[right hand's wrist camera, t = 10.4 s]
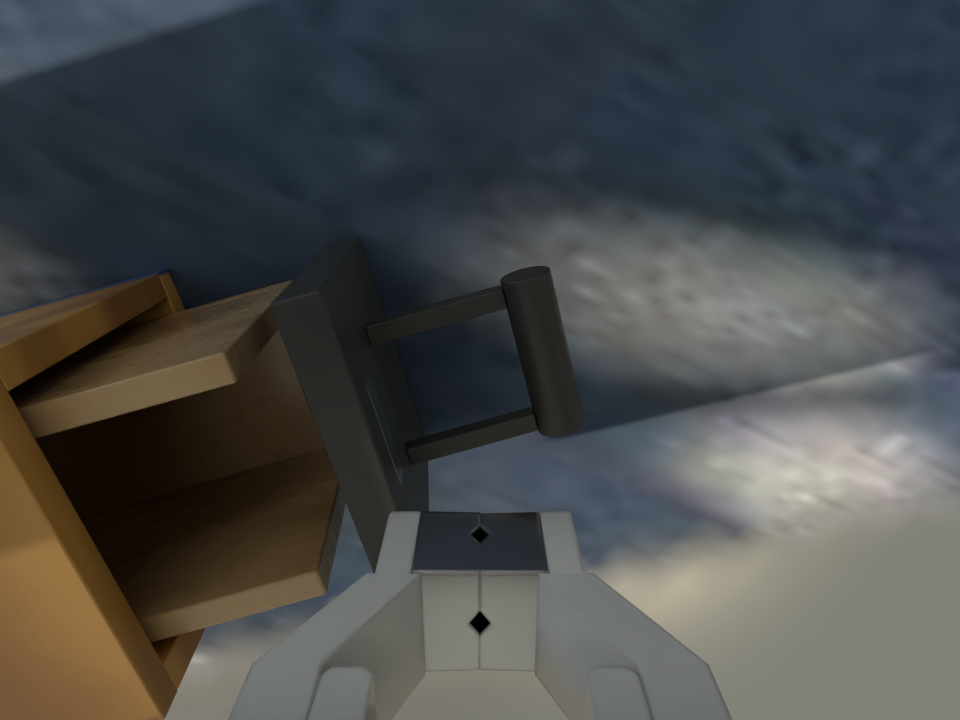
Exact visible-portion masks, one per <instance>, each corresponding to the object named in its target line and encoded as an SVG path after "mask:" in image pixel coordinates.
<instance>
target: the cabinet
mask: <svg viewBox="0 0 960 720" xmlns="http://www.w3.org/2000/svg"><path fill="white" fill-rule="evenodd" d="M182 310H185V308H184V306H183V303H182V301H181V299H180V296H179V294H178V292H177V290H176V287H175V285H174V283H173V280H172V278H171V276H170V274H169V269H168V268H167V269H163V270H160V271H156V272H152V273H149V274H145V275H142V276H138V277H134V278H131V279H127V280H124V281H120V282H116V283H113V284H109V285H106V286H102V287H99V288H95V289H91V290H88V291H84V292H81V293H77V294H73V295H70V296H66V297H63V298H59V299H56V300H52V301H48V302H45V303H41V304H38V305H34V306H30V307H27V308H23V309H20V310H16V311H12V312H9V313H5V314H2V315H0V720H163V719H164V718H165V717H166V715H167V712H168V710H169V708H170V706H171V704H172V701H173V699H174V697H175V695H176V693H177V688H178V687H179V685H180V683H181V681H182V679H183V676H184V674H185V672H186V670H187V667H188V665H189V663H190V661H191V659H192V656H193V654H194V652H195V650H196V648H197V645H198V643H199V641H200V639H201V637H202V634H203V632H204V630H205V628H206V627H205V628H202V629H198V630H194V631H191V632H187V633H184V634H180V635H176V636H173V637H169V638H166V639H162V640H158V641H155V642H151V643H150V641H149V639H148V637H147V635H146V634H145V632H144V630H143V628H142V627H141V625H140V623H139V621H138V620H137V618H136V616H135V614H134V613H133V611H132V609H131V607H130V606H129V604H128V602H127V600H126V599H125V597H124V595H123V593H122V591H121V590H120V588H119V586H118V584H117V583H116V581H115V579H114V577H113V576H112V574H111V572H110V570H109V569H108V567H107V565H106V563H105V562H104V560H103V558H102V556H101V555H100V553H99V551H98V549H97V547H96V546H95V544H94V542H93V540H92V539H91V537H90V535H89V533H88V532H87V530H86V528H85V526H84V525H83V523H82V521H81V519H80V518H79V516H78V514H77V512H76V510H75V509H74V507H73V505H72V503H71V502H70V500H69V498H68V496H67V495H66V493H65V491H64V489H63V488H62V486H61V484H60V482H59V481H58V479H57V477H56V475H55V474H54V472H53V470H52V468H51V466H50V465H49V463H48V461H47V459H46V458H45V456H44V454H43V452H42V451H41V449H40V447H39V445H38V444H37V442H36V440H35V438H34V437H33V435H32V433H31V431H30V430H29V428H28V426H27V424H26V422H25V421H24V419H23V417H22V415H21V414H20V412H19V410H18V408H17V407H16V405H15V403H14V401H13V400H12V398H11V396H10V394H9V393H8V391H10V390H12V389H14V388H15V387H17V386H19V385H20V384H22V383H24V382H25V381H27V380H29V379H31V378H32V377H34V376H36V375H37V374H39V373H41V372H42V371H44V370H46V369H48V368H49V367H51V366H53V365H54V364H56V363H58V362H59V361H61V360H63V359H65V358H66V357H68V356H70V355H71V354H73V353H75V352H77V351H78V350H80V349H82V348H83V347H85V346H87V345H88V344H90V343H92V342H94V341H95V340H97V339H99V338H100V337H102V336H104V335H105V334H107V333H109V332H111V331H112V330H114V329H117V328H121V327H125V326H128V325H132V324H135V323H139V322H143V321H146V320H150V319H153V318H157V317H161V316H164V315H168V314H171V313H175V312H178V311H182Z"/></svg>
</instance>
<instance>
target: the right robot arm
mask: <svg viewBox="0 0 960 720" xmlns="http://www.w3.org/2000/svg"><path fill="white" fill-rule="evenodd" d="M463 670H496V671H531V672H535V675H536V676H537V678H538V679H539V680H540V682H541V683H542V685H543V686H544V687H545V689H546V690H547V691H548V693H549V694H550V695H551V697H552V698H553V699H554V701H555V702H556V703H557V705H558V706H559V707H560V709H561V710H562V712H563V713H564V714H565V716H566V717H567V718H568V720H732V718H731V716H730V714H729V711H728V709H727V706H726V704H725V702H724V700H723V697H722V695H721V692H720V690H719V688H718V685H717V683H716V681H715V678H714V676H713V674H712V671H711V669H710V667H709V665H708V664H707V663H706V662H705V661H703V660H702V659H701V658H700V657H698V656H697V655H696V654H695V653H693V652H692V651H691V650H690V649H688V648H687V647H686V646H684V645H683V644H682V643H681V642H679V641H678V640H677V639H676V638H674V637H673V636H672V635H671V634H669V633H668V632H667V631H666V630H664V629H663V628H662V627H661V626H659V625H658V624H657V623H656V622H654V621H653V620H652V619H650V618H649V617H648V616H647V615H645V614H644V613H643V612H642V611H640V610H639V609H638V608H637V607H635V606H634V605H633V604H632V603H630V602H629V601H628V600H627V599H625V598H624V597H623V596H622V595H620V594H619V593H618V592H617V591H615V590H614V589H613V588H611V587H610V586H609V585H608V584H606V583H605V582H604V581H603V580H601V579H600V578H599V577H598V576H596V575H595V574H593V573H585V571H584V567H583V563H582V559H581V554H580V550H579V546H578V542H577V538H576V534H575V530H574V526H573V521H572V517H571V514H570V513H569V512H568V511H547V512H526V513H478V512H430V511H422V513H421V512H420V511H392V512H391V513H390V515H389V517H388V521H387V525H386V529H385V533H384V538H383V542H382V546H381V550H380V554H379V558H378V563H377V567H376V571H375V573H367V574H365V575H364V576H362V577H361V578H360V579H359V580H357V581H356V582H355V583H354V584H352V585H351V586H350V587H348V588H347V589H346V590H345V591H343V592H342V593H341V594H340V595H338V596H337V597H336V598H335V599H333V600H332V601H331V602H329V603H328V604H327V605H326V606H324V607H323V608H322V609H321V610H319V611H318V612H317V613H316V614H314V615H313V616H312V617H311V618H309V619H308V620H307V621H305V622H304V623H303V624H302V625H300V626H299V627H298V628H297V629H295V630H294V631H293V632H292V633H290V634H289V635H288V636H286V637H285V638H284V639H283V640H281V641H280V642H279V643H278V644H276V645H275V646H274V647H273V648H271V649H270V650H269V651H267V652H266V653H265V654H264V655H262V656H261V657H260V658H259V659H257V660H256V661H255V662H254V663H252V665H251V667H250V670H249V672H248V674H247V677H246V679H245V681H244V684H243V686H242V688H241V691H240V693H239V695H238V698H237V700H236V702H235V704H234V707H233V709H232V711H231V714H230V716H229V718H228V720H392V719H393V717H394V716H395V715H396V713H397V712H398V711H399V709H400V708H401V707H402V705H403V704H404V703H405V701H406V700H407V699H408V697H409V696H410V695H411V693H412V692H413V691H414V689H415V688H416V687H417V685H418V684H419V682H420V681H421V680H422V678H423V677H424V676H425V672H428V671H463Z"/></svg>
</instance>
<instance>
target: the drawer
mask: <svg viewBox="0 0 960 720" xmlns="http://www.w3.org/2000/svg"><path fill="white" fill-rule="evenodd" d="M500 283H501V286H496V287H492V288H488V289H485V290H481V291H478V292H474V293H470V294H467V295H463V296H460V297H456V298H453V299H449V300H445V301H442V302H438V303H435V304H431V305H427V306H424V307H420V308H417V309H413V310H409V311H406V312H402V313H399V314H395V315H392V316H388V317H386V316H385V313H384V310H383V306H382V303H381V300H380V297H379V294H378V291H377V288H376V285H375V282H374V279H373V276H372V273H371V270H370V267H369V264H368V260H367V257H366V254H365V251H364V248H363V245H362V242H361V239H360V237H359V236H355V237H351V238H348V239H344V240H341V241H337V242H333V243H330V244H328V245H327V246H326V247H325V248H324V249H323V250H322V251H321V252H320V253H319V254H318V255H317V256H316V257H315V258H314V259H313V260H312V261H311V262H310V263H309V264H308V266H307V267H306V268H305V269H304V270H303V271H302V272H301V273H300V274H299V275H298V276H297V277H296V278H295V279H294V280H290V281H286V282H283V283H279V284H275V285H272V286H268V287H265V288H261V289H257V290H254V291H250V292H247V293H243V294H239V295H236V296H232V297H229V298H225V299H222V300H218V301H214V302H211V303H207V304H204V305H200V306H196V307H193V308H189V309H186V310H182V311H178V312H175V313H171V314H168V315H164V316H161V317H157V318H153V319H150V320H146V321H143V322H139V323H135V324H132V325H128V326H125V327H121V328H117V329H114V330H112V331H111V332H109V333H107V334H105V335H104V336H102V337H100V338H99V339H97V340H95V341H94V342H92V343H90V344H88V345H87V346H85V347H83V348H82V349H80V350H78V351H77V352H75V353H73V354H71V355H70V356H68V357H66V358H65V359H63V360H61V361H59V362H58V363H56V364H54V365H53V366H51V367H49V368H48V369H46V370H44V371H42V372H41V373H39V374H37V375H36V376H34V377H32V378H31V379H29V380H27V381H25V382H24V383H22V384H20V385H19V386H17V387H15V388H14V389H12V390H10V391H8V393H9V394H10V396H11V398H12V400H13V401H14V403H15V405H16V407H17V408H18V410H19V412H20V414H21V415H22V417H23V419H24V421H25V422H26V424H27V426H28V428H29V430H30V431H31V433H32V435H33V437H34V438H35V440H36V442H37V444H38V445H39V447H40V449H41V451H42V452H43V454H44V456H45V458H46V459H47V461H48V463H49V465H50V466H51V468H52V470H53V472H54V474H55V475H56V477H57V479H58V481H59V482H60V484H61V486H62V488H63V489H64V491H65V493H66V495H67V496H68V498H69V500H70V502H71V503H72V505H73V507H74V509H75V510H76V512H77V514H78V516H79V518H80V519H81V521H82V523H83V525H84V526H85V528H86V530H87V532H88V533H89V535H90V537H91V539H92V540H93V542H94V544H95V546H96V547H97V549H98V551H99V553H100V555H101V556H102V558H103V560H104V562H105V563H106V565H107V567H108V569H109V570H110V572H111V574H112V576H113V577H114V579H115V581H116V583H117V584H118V586H119V588H120V590H121V591H122V593H123V595H124V597H125V599H126V600H127V602H128V604H129V606H130V607H131V609H132V611H133V613H134V614H135V616H136V618H137V620H138V621H139V623H140V625H141V627H142V628H143V630H144V632H145V634H146V635H147V637H148V639H149V641H150V643H151V642H155V641H158V640H162V639H166V638H169V637H173V636H176V635H180V634H184V633H187V632H191V631H194V630H198V629H202V628H205V627H209V626H212V625H216V624H220V623H223V622H227V621H230V620H234V619H238V618H241V617H245V616H248V615H252V614H256V613H259V612H263V611H266V610H270V609H274V608H277V607H281V606H284V605H288V604H292V603H295V602H299V601H302V600H306V599H310V598H313V597H317V596H320V595H324V594H325V593H326V592H327V588H328V583H329V579H330V574H331V569H332V565H333V560H334V556H335V551H336V546H337V542H338V537H339V532H340V528H341V523H342V518H343V514H344V509H345V504H346V503H347V506H348V508H349V511H350V513H351V516H352V518H353V521H354V524H355V526H356V529H357V531H358V534H359V536H360V539H361V542H362V544H363V547H364V549H365V552H366V554H367V557H368V559H369V562H370V565H371V567H372V570H373V572H374V573H375V571H376V567H377V563H378V558H379V554H380V550H381V546H382V542H383V538H384V533H385V529H386V525H387V521H388V517H389V515H390V513H391V512H392V511H420V512H421V513H422V511H429V494H428V461H429V460H433V459H436V458H440V457H444V456H447V455H451V454H454V453H458V452H462V451H465V450H469V449H472V448H476V447H480V446H483V445H487V444H490V443H494V442H498V441H501V440H505V439H508V438H512V437H515V436H519V435H523V434H526V433H530V432H533V431H537V430H538V431H539V432H540V433H541V434H542V435H544V436H548V437H560V436H565V435H568V434H571V433H573V432H575V431H577V430H578V429H580V428H581V427H582V425H583V423H584V417H583V413H582V408H581V404H580V400H579V395H578V391H577V386H576V382H575V377H574V373H573V369H572V364H571V360H570V355H569V351H568V346H567V342H566V337H565V333H564V329H563V324H562V320H561V315H560V311H559V306H558V302H557V298H556V293H555V289H554V284H553V280H552V275H551V271H550V269H549V267H546V266H534V267H528V268H524V269H520V270H517V271H514V272H511V273H509V274H507V275H505V276H504V277H502V278H501V280H500ZM501 287H502V288H501ZM506 308H507V311H508V314H509V318H510V322H511V326H512V330H513V334H514V338H515V342H516V346H517V350H518V354H519V358H520V361H521V365H522V369H523V373H524V377H525V381H526V385H527V389H528V393H529V397H530V401H531V405H532V408H533V410H532V408H531V407H529V408H526V409H522V410H519V411H515V412H511V413H508V414H504V415H501V416H497V417H493V418H490V419H486V420H483V421H479V422H475V423H472V424H468V425H465V426H461V427H458V428H454V429H450V430H447V431H443V432H440V433H436V434H432V435H429V436H425V435H424V432H423V429H422V426H421V423H420V420H419V417H418V414H417V411H416V408H415V405H414V401H413V398H412V395H411V392H410V389H409V386H408V383H407V380H406V377H405V374H404V371H403V368H402V365H401V362H400V359H399V356H398V352H397V349H396V346H395V343H394V340H395V339H398V338H402V337H405V336H409V335H412V334H416V333H420V332H423V331H427V330H430V329H434V328H438V327H441V326H445V325H448V324H452V323H456V322H459V321H463V320H466V319H470V318H474V317H477V316H481V315H484V314H488V313H491V312H495V311H499V310H502V309H506Z"/></svg>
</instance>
